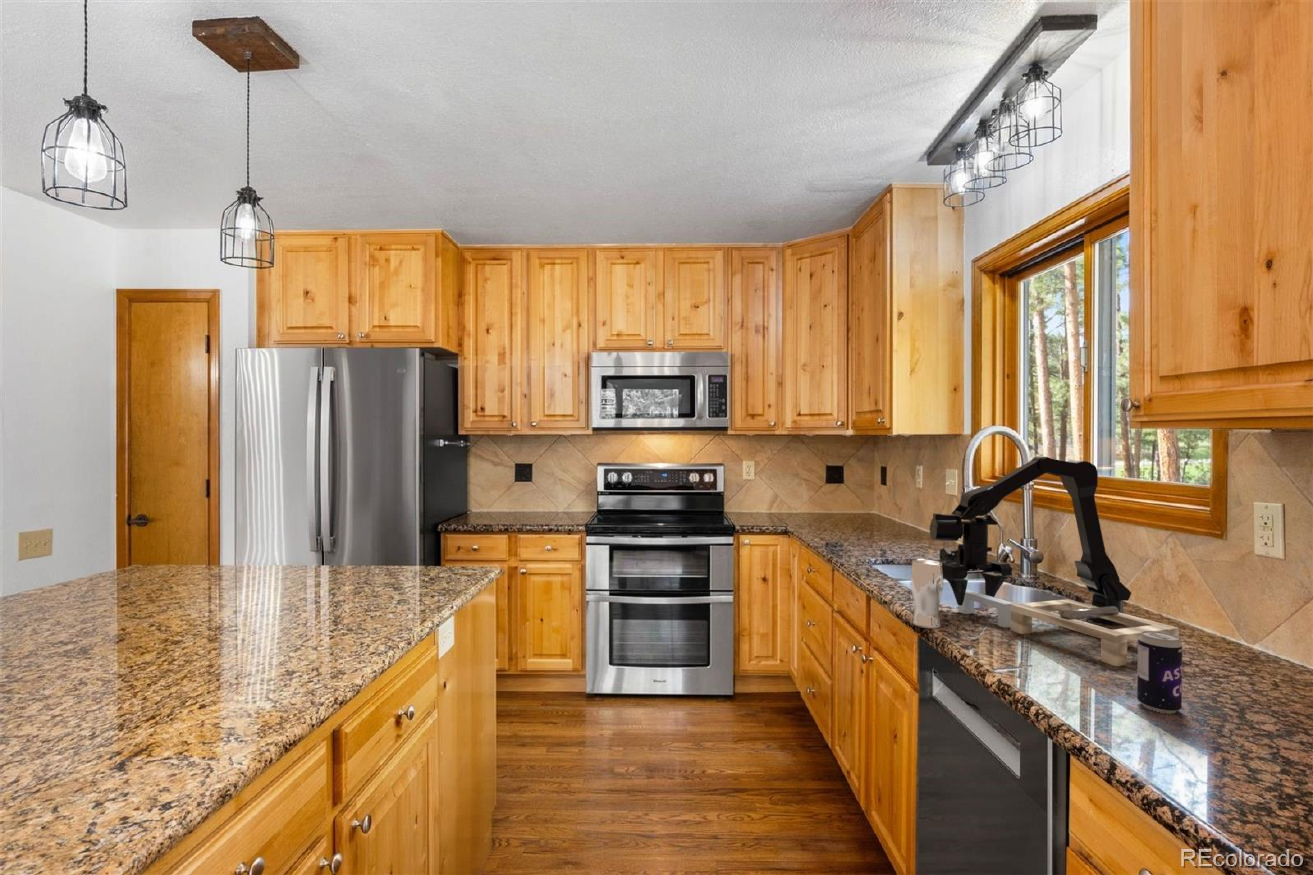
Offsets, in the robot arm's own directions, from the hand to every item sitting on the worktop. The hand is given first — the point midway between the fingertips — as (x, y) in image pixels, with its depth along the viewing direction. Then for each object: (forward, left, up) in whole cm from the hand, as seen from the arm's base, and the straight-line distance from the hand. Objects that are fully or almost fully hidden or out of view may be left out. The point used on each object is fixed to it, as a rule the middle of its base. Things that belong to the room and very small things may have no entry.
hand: (974, 603), depth 157 cm
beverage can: (+15, +53, -3) cm, 55 cm away
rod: (-7, +25, +3) cm, 26 cm away
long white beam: (0, +4, -3) cm, 4 cm away
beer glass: (+18, +4, -3) cm, 19 cm away
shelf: (-7, +25, -3) cm, 26 cm away
